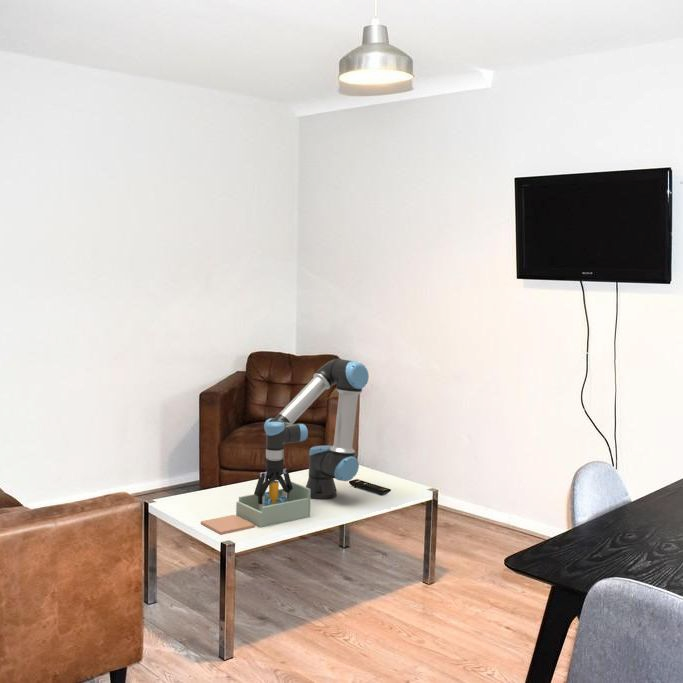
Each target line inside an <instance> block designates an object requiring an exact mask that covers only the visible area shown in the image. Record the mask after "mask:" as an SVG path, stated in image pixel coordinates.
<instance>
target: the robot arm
mask: <svg viewBox="0 0 683 683" xmlns="http://www.w3.org/2000/svg"><path fill="white" fill-rule="evenodd" d="M368 371H369V370H368V368H367V367H366V366H365V364H363V363H361V362H358V361H357V360H356V361H355V360H347V359H343V358H336V359H332V360H329V361H328V362H326V363H325V364H324V365H322V366H321V367H320V368H318V370H317V371H316V372H314V374H312V375H313V376H312V377H313V378H312V379H311V380H310V381H309V382H308V383H307V384H306V385H305V386H304V387H303V388H302V389H301V390H300V391H299V393H298V394H296V395H295V396H294V398H293V399H292V400H290V402H289V403H288V404H287V405H286V406H285V407H284V408H282V410H281V411H280V412H279V413H278V414H277V415H276V416H275V417H271V418H268V419H266V420H265V422H264V424H263V429H264V432H265V458H266V459H265V472H261V471H259V473H258V480H257V483H256V487H255V489H254V493H253V494H254V495H256V496H258V504H259V511H261V507H264V505H265V497H264V496H263V495H264V493H265V492H267V490H268V489H269V484H270V483H271V482H272V481H274V480H275V481H279V484H280V486H281V487H282V488H281V489H284V491H282V496H285V497H287V499H288V498H289V497H288V496H289V493H290V490H292V489H293V487H292V484H291V482H292V481H291V476H290V469H289V468H287V467H284V456H285V455H284V450H285V449H284V448H285V444H291V443H301V442H304V441H306V440H307V439H308V436H309V430H308V428H307V426H306V424H304V423H296V424H294V423H295V422H296V421H297V420H298V419H299V418H300V416H302V414H303V413H305V411H306V410H307V409H308V408H309V407H310V406H312V404H313V403H314V402H315V401H316V400H317V399H318V398H319V396H321V395H322V394H323V393H324V392H325V391H326V390H329V389H330V388H331V387H333V386H334V385H336V387H335V389H336V391H337V392H338V402H337V410H336V411H337V412H336V419H335V426H334V427H335V428H334V435H333V436H334V437H333V445H315V446H312V447H311V448H309V453H308V479H307V482H306V486H305V487H306V488H309V489H311V493H310V499H316V500H329V499H333V498H335V497H337V496H338V495H337V492H338V491H337V487H336V482H335V481H334V480H335V479H336V480H337V481H341V482H348V481H351V480H352V479H354V477H355V476H356V475H357V473H358V471H359V467H360V465H359V461H358V459H357V458H356V457H355V456H356V455H355V454H356V451H355V450H354V447H353V445H354V444H353V443H354V435H355V434H354V433H355V425H356V415H357V407H358V398H359V395H360V394H361V393H362V392H363V388H365V387H366V385H367V384H368V382H369V377H370V376H369V372H368ZM282 475H283V476H282ZM284 480H285V482H286V483H285V482H284ZM282 500H283V503H284V502H285V501H286V499H285V498H282Z"/></svg>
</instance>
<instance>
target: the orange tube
mask: <svg viewBox="0 0 683 683" xmlns="http://www.w3.org/2000/svg"><path fill="white" fill-rule="evenodd" d="M279 484H280V483H279V481H278V480H274V481H272V482H271V483H270V484H269V486H268V491H269V495H268V494H265V495H264V497H265V499H267V502H266V500H265V503H266V504H265V505H264V506H269V505H274V504H279V503H280V501H281V503H283V500H282V499H281V498H285V499H286V501H285V502H287V497H285V496H279V494H278V489H279ZM266 496H268V498H269V499H268V498H267V497H266Z"/></svg>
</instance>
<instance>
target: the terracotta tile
mask: <svg viewBox="0 0 683 683" xmlns="http://www.w3.org/2000/svg"><path fill="white" fill-rule="evenodd" d="M200 524H201V525H202V526H204V527H206V528H208V529H210V530H211V531H213V532H216V533H217V534H219V535H225V534H231V533H234V532H238V531H243V530H248V529H253V528H256V525H255V524H252V523H250V522H248V521H246V520H244V519H242V518H240V517H238V516H236V514H231V515H225V516H221V517H217V518H215V517H214V518H211V519H206V520H201V521H200Z"/></svg>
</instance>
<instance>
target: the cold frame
mask: <svg viewBox="0 0 683 683" xmlns="http://www.w3.org/2000/svg"><path fill="white" fill-rule="evenodd" d="M283 480H284V482H285V479H283ZM285 483H286V482H285ZM291 484H292V487H293V489H292V490H290V493H289V496H288V497H289V498H288V499H287V502H284V503H281V501H280V503H279V504H274V505H269V506H264V507H261V511H259V504H258V496H256V495H254V493H252V494H246V495H241V496H238V501H236V505H235V506H236V508H235V509H236V510H235V512H236V513H235V515H236V516H238V517H240V518H242V519H244V520H246V521H248V522H250V523H252V524H254V525H255V526H256V527H258V528H263V527H267V526H268V527H269V526H271V525H277V524H281V523H286V522H290V521H291V522H292V521H296V520H301V519H305V518H309V517H311V498H310V493H311V489H309V488H306V486H304V485H301V484H299V483H295V482H294V481H291ZM282 491H284V489H283V488H278V494H279V496H282ZM265 494H268V495H269V490H268V491H266V492H265V493H264V495H265ZM264 495H263V496H264ZM266 497H267V498H268V496H266ZM268 499H269V498H268ZM281 499H282V498H281ZM265 500H266V502H267V499H265ZM265 504H266V503H265Z"/></svg>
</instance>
